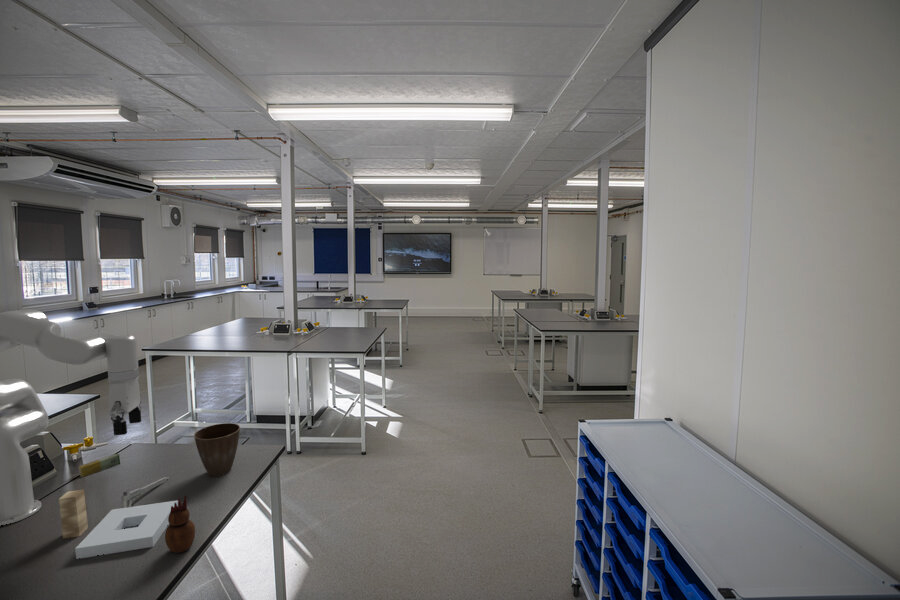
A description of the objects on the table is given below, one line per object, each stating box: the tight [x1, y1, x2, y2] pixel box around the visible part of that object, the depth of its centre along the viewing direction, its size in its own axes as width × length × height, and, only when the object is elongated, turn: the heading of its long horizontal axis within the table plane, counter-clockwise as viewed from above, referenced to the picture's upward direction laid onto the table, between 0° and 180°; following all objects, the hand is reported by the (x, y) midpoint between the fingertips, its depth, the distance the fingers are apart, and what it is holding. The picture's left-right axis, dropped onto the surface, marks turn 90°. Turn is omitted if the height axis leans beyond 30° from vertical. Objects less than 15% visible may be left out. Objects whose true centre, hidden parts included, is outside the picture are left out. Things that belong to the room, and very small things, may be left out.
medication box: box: [78, 453, 121, 478], centre depth 158 cm, size 12×3×4 cm, turn 148°
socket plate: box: [74, 499, 178, 560], centre depth 121 cm, size 18×18×3 cm
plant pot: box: [193, 422, 241, 477], centre depth 155 cm, size 15×15×16 cm
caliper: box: [120, 476, 170, 508], centre depth 141 cm, size 20×1×6 cm, turn 179°
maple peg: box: [58, 489, 89, 540], centre depth 120 cm, size 4×4×12 cm
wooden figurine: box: [164, 494, 196, 554], centre depth 113 cm, size 7×6×15 cm
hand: (128, 428), depth 130 cm, fingers open, 9 cm apart
